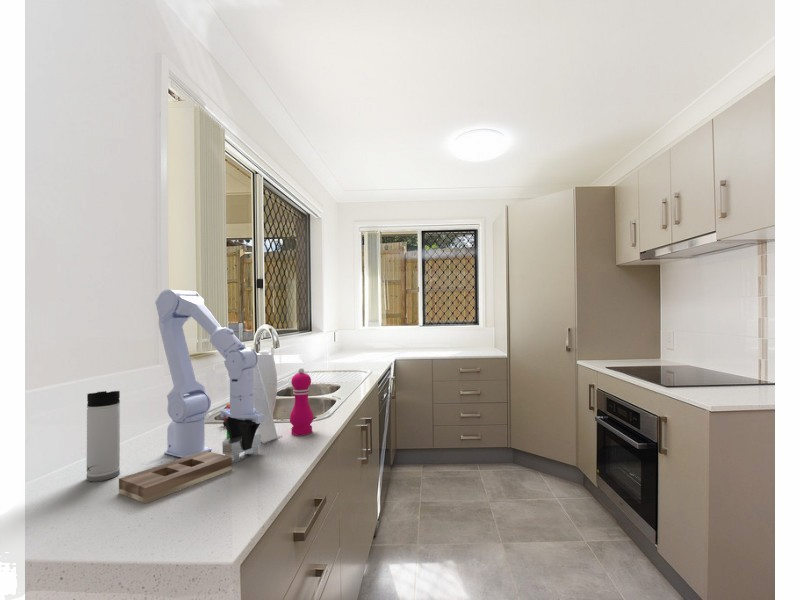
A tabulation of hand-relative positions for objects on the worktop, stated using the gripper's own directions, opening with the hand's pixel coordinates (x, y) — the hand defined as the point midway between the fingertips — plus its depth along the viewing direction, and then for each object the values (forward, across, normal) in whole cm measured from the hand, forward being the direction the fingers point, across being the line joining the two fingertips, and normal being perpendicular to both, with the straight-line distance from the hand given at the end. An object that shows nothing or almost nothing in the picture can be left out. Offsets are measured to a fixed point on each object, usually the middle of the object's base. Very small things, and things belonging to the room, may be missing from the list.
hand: (242, 447), depth 108 cm
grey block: (+2, 0, 0) cm, 2 cm away
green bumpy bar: (+3, +19, -15) cm, 25 cm away
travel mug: (+3, +18, +24) cm, 30 cm away
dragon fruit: (+3, +28, -22) cm, 36 cm away
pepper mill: (+3, +2, -24) cm, 24 cm away
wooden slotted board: (+2, 0, +17) cm, 17 cm away
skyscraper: (+3, +7, -14) cm, 16 cm away
